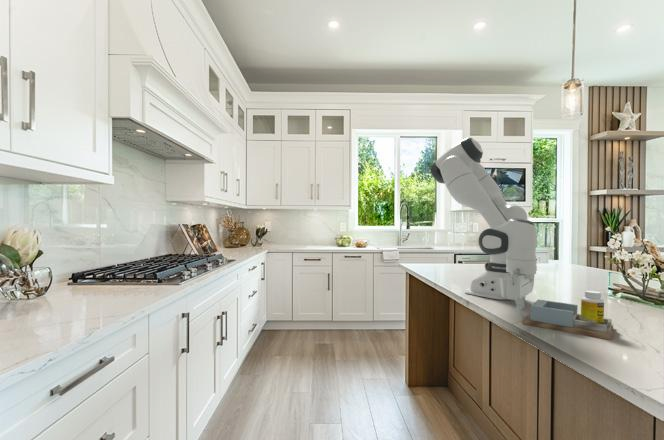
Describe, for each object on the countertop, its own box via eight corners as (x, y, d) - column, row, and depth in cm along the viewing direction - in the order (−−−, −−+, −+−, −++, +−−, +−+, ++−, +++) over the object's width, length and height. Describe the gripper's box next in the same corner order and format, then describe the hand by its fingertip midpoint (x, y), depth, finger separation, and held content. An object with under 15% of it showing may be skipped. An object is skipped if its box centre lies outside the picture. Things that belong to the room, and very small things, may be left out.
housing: (530, 320, 112) (530, 305, 112) (537, 312, 121) (538, 299, 121) (572, 327, 105) (573, 312, 105) (577, 319, 114) (577, 304, 114)
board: (522, 323, 112) (522, 313, 112) (531, 314, 123) (531, 305, 123) (611, 339, 98) (611, 328, 98) (613, 328, 109) (613, 317, 109)
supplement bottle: (599, 329, 103) (599, 294, 103) (577, 325, 108) (578, 290, 108) (606, 326, 106) (607, 292, 106) (585, 322, 111) (586, 289, 111)
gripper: (524, 271, 109) (523, 317, 109) (537, 265, 125) (536, 305, 125) (502, 269, 113) (501, 313, 113) (517, 264, 129) (516, 302, 129)
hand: (520, 309), depth 119 cm, fingers closed
